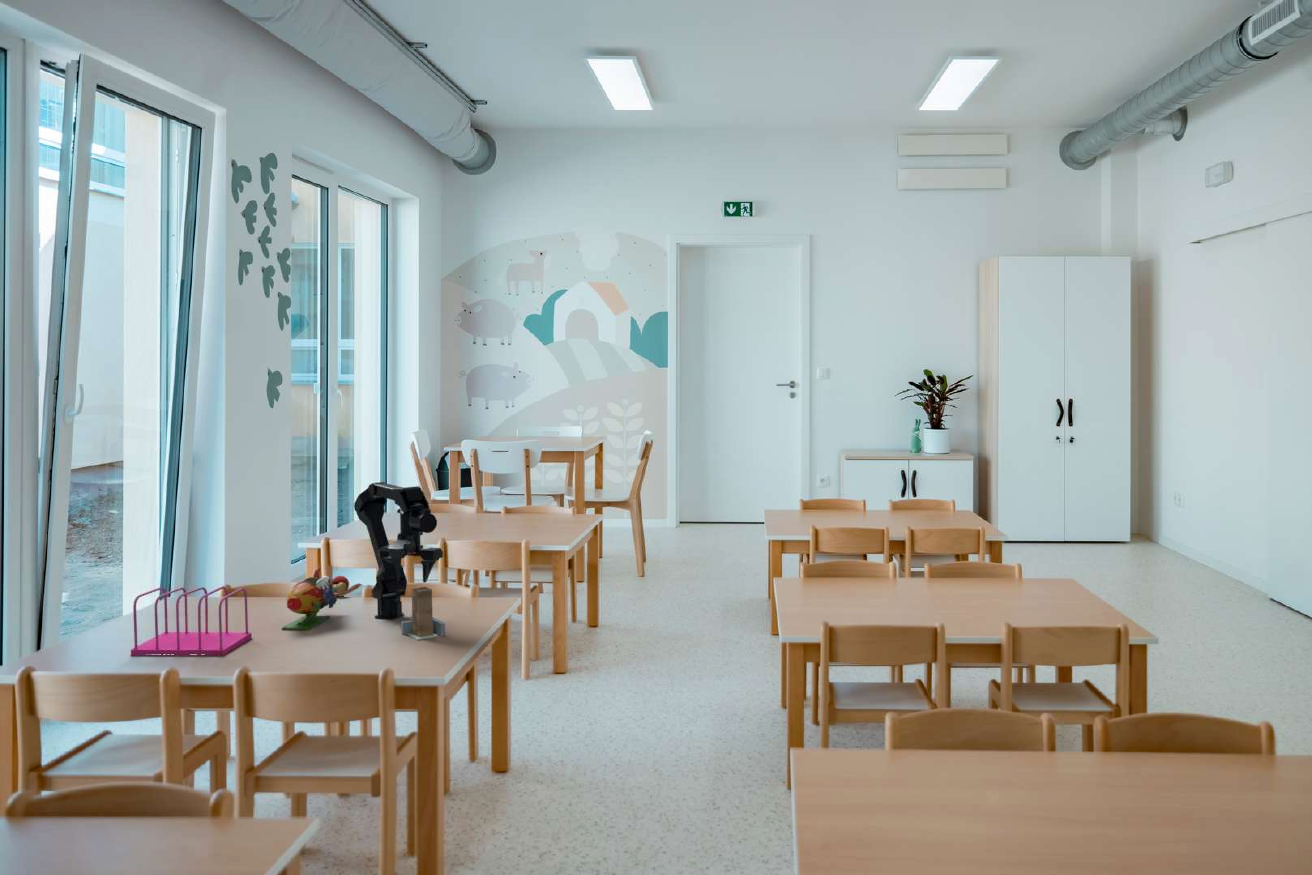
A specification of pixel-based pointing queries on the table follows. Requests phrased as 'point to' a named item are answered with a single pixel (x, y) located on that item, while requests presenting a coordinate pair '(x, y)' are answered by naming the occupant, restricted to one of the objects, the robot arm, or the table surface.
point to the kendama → (340, 584)
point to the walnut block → (422, 611)
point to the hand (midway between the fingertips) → (411, 581)
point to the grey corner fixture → (437, 628)
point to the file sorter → (191, 640)
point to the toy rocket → (310, 601)
